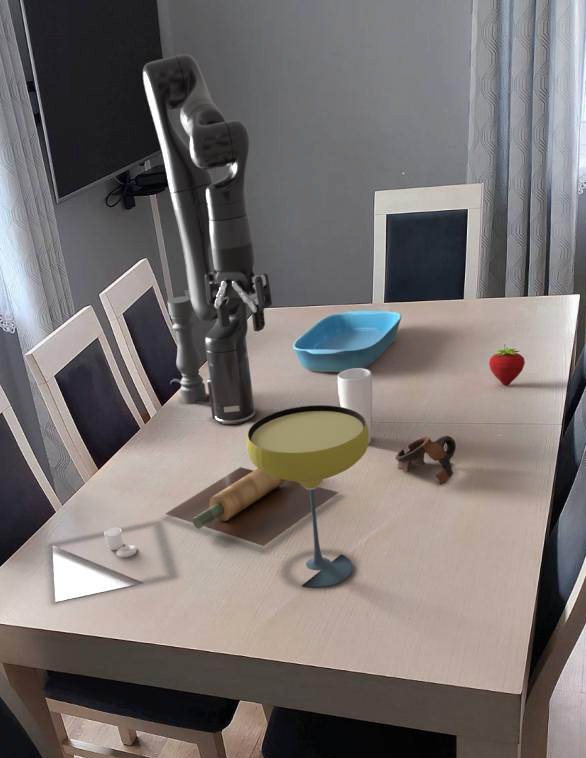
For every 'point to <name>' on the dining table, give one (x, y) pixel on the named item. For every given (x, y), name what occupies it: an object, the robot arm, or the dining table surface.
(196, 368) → the candle holder
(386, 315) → the casserole dish
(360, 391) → the drinking glass
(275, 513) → the pastry board
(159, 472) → the dining table surface
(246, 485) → the rolling pin
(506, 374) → the strawberry
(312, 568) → the cocktail glass
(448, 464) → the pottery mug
